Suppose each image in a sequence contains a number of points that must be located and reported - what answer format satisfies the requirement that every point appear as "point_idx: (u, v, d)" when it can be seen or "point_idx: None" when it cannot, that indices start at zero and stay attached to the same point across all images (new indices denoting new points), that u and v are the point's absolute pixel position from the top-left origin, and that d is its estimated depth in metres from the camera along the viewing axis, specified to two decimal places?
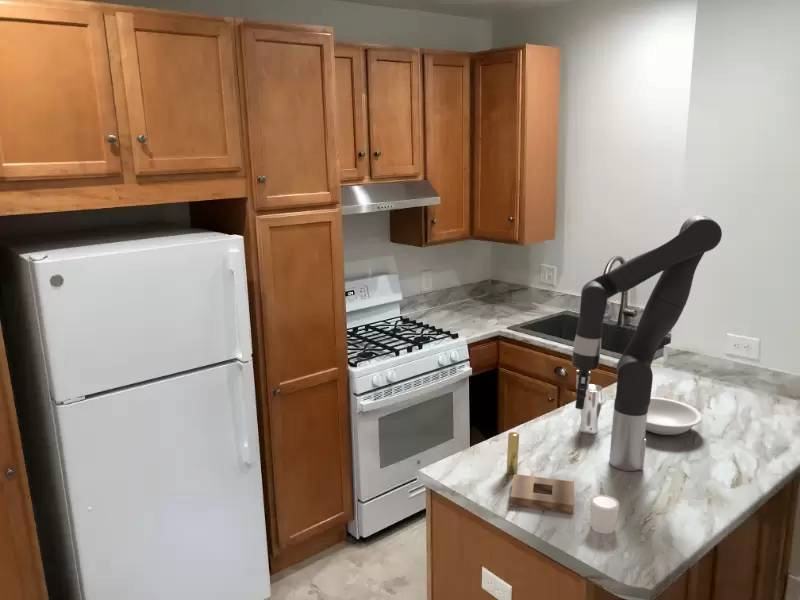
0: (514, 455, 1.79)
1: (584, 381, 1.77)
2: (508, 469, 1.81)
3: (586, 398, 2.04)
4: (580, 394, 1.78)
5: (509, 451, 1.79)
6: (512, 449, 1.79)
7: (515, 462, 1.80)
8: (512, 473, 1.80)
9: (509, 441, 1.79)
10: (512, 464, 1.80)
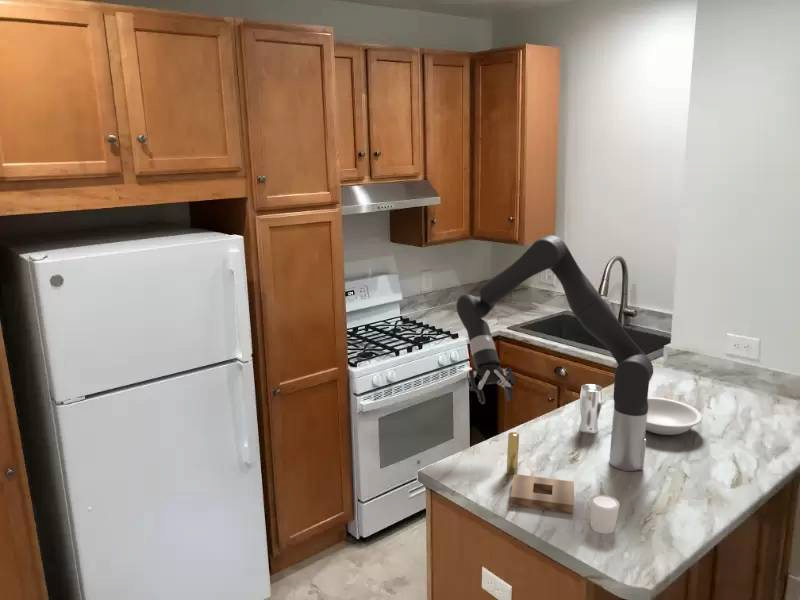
0: (514, 455, 1.79)
1: (468, 374, 1.91)
2: (508, 469, 1.81)
3: (586, 398, 2.04)
4: (470, 387, 1.89)
5: (509, 451, 1.79)
6: (512, 449, 1.79)
7: (515, 462, 1.80)
8: (512, 473, 1.80)
9: (509, 441, 1.79)
10: (512, 464, 1.80)
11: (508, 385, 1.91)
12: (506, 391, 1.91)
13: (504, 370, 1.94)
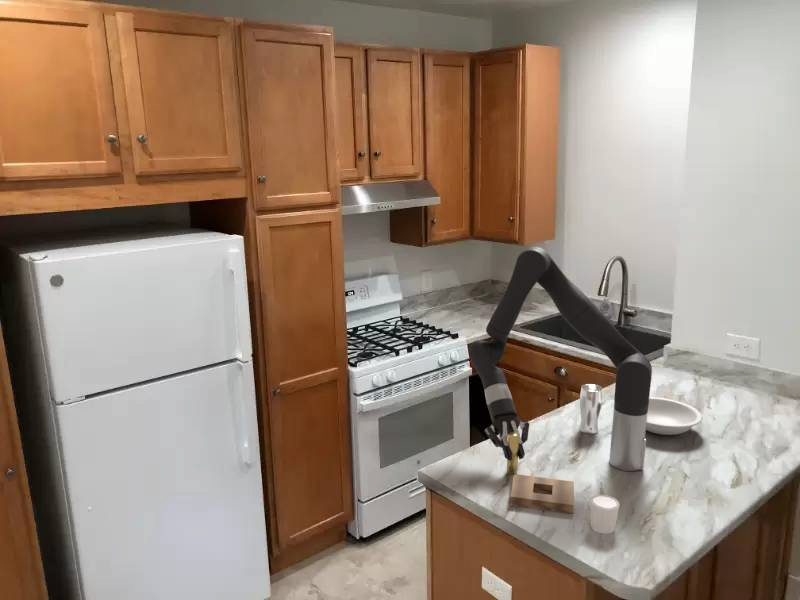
0: (515, 456, 1.79)
1: (488, 432, 1.81)
2: (508, 469, 1.81)
3: (586, 398, 2.04)
4: (496, 443, 1.80)
5: None
6: (513, 449, 1.79)
7: (515, 462, 1.80)
8: (512, 473, 1.80)
9: (509, 441, 1.79)
10: (512, 464, 1.80)
11: (519, 441, 1.80)
12: None
13: (522, 423, 1.84)
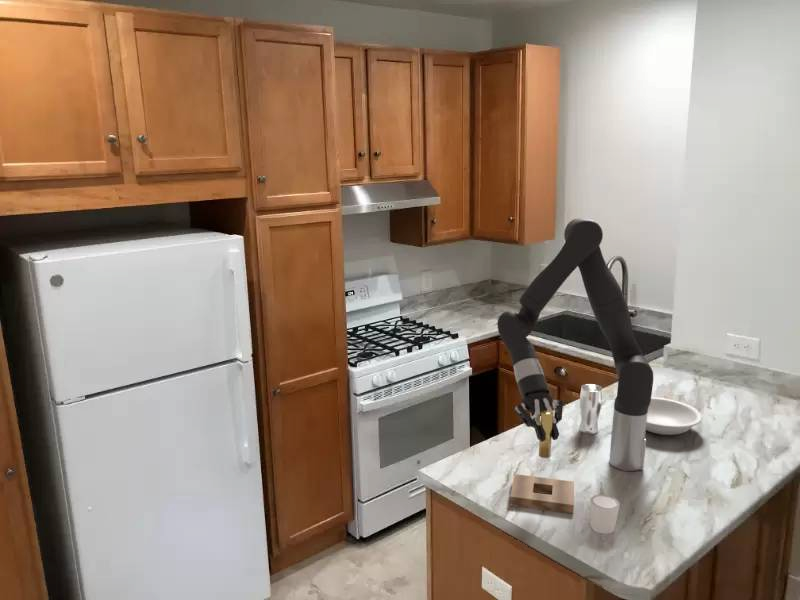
0: (548, 436, 1.64)
1: (518, 410, 1.66)
2: (541, 451, 1.65)
3: (586, 398, 2.04)
4: (527, 422, 1.65)
5: None
6: (546, 429, 1.63)
7: (548, 443, 1.64)
8: (545, 455, 1.65)
9: (542, 420, 1.63)
10: (545, 445, 1.64)
11: (553, 421, 1.65)
12: None
13: (555, 401, 1.69)
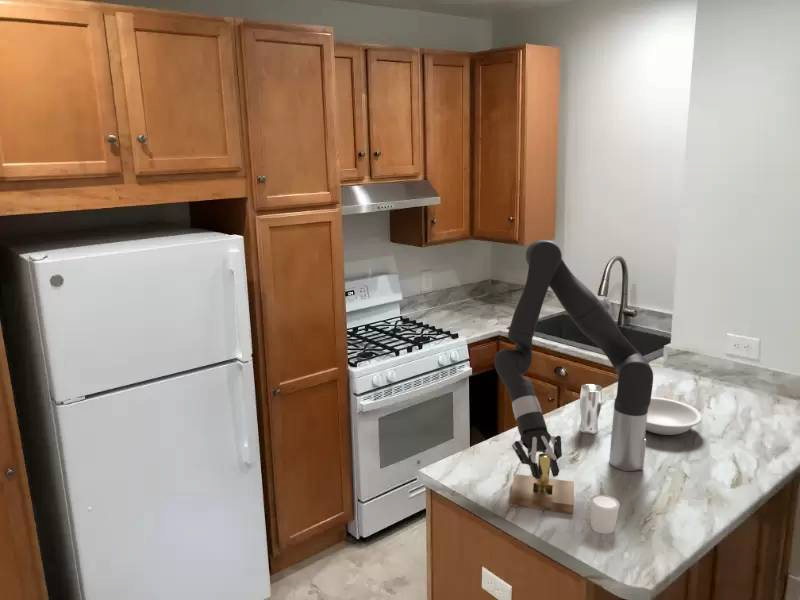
0: (545, 479, 1.67)
1: (515, 446, 1.68)
2: None
3: (586, 398, 2.04)
4: (522, 460, 1.67)
5: None
6: (543, 472, 1.66)
7: (546, 486, 1.67)
8: None
9: (540, 463, 1.66)
10: (543, 488, 1.67)
11: (553, 457, 1.68)
12: (551, 464, 1.68)
13: (553, 438, 1.72)
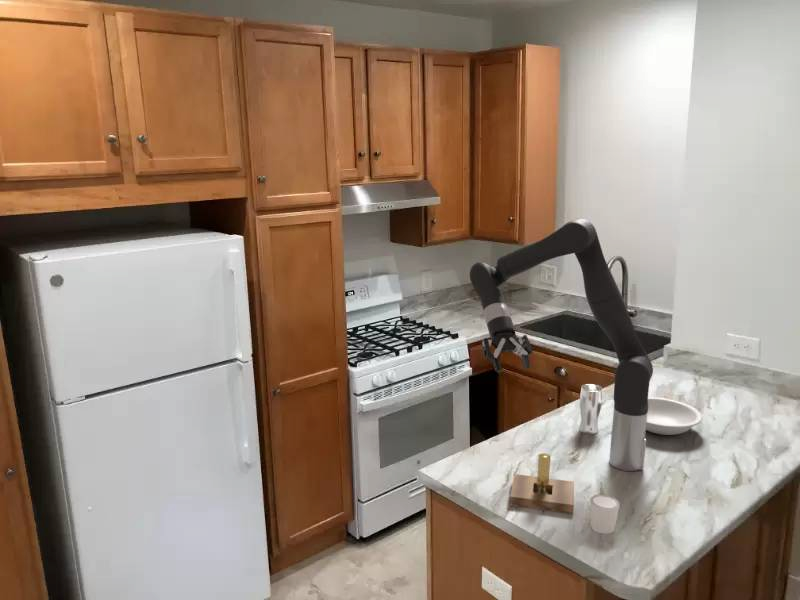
0: (545, 479, 1.67)
1: (483, 343, 1.84)
2: None
3: (586, 398, 2.04)
4: (486, 356, 1.83)
5: (539, 474, 1.67)
6: (543, 472, 1.66)
7: (546, 486, 1.67)
8: None
9: (539, 463, 1.66)
10: (543, 488, 1.67)
11: (525, 353, 1.84)
12: (523, 359, 1.84)
13: (520, 338, 1.87)
